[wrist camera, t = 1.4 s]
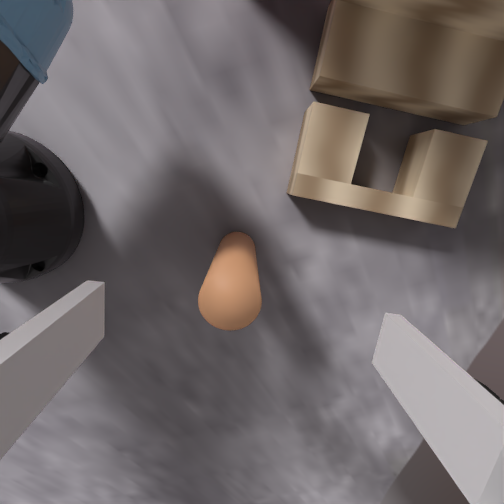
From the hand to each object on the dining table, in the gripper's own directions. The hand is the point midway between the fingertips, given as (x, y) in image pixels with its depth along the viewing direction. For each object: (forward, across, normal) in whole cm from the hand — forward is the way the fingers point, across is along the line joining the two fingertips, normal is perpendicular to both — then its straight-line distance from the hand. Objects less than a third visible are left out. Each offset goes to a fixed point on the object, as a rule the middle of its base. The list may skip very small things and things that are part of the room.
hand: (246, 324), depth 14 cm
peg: (+19, 0, -1) cm, 19 cm away
